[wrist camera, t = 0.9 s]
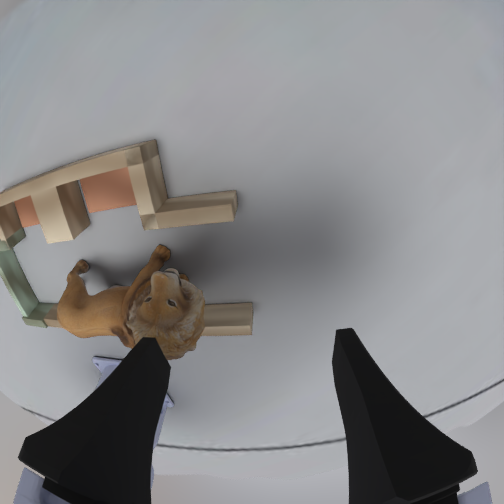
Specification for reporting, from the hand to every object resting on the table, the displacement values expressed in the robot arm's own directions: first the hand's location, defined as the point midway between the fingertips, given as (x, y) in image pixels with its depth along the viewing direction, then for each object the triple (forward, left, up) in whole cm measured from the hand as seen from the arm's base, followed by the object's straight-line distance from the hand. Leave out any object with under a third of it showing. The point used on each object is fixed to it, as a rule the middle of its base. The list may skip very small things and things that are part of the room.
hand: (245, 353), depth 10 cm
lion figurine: (-1, +9, -10) cm, 13 cm away
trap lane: (+1, +13, -10) cm, 16 cm away
